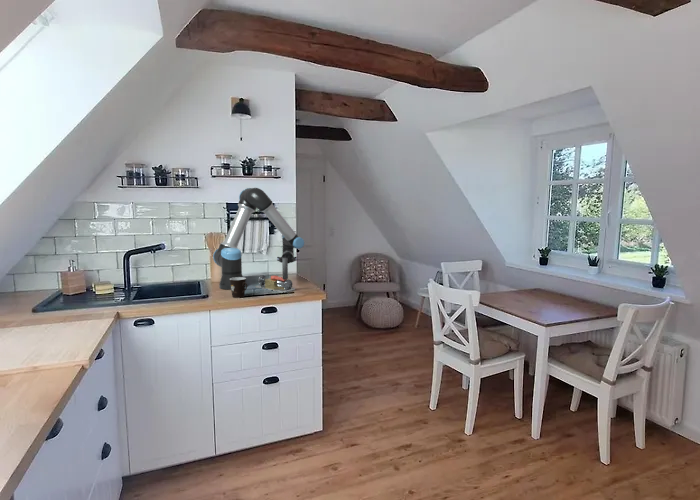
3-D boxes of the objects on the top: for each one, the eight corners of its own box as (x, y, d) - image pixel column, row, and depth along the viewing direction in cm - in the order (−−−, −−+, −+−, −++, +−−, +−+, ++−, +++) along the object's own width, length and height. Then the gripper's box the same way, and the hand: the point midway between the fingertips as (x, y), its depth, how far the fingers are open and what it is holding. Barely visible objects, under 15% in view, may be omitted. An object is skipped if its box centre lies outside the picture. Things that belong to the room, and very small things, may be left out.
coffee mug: (229, 295, 226) (228, 278, 225) (244, 294, 230) (244, 276, 228) (232, 300, 215) (231, 281, 214) (249, 298, 219) (248, 280, 218)
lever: (269, 278, 244) (268, 256, 242) (275, 277, 247) (274, 255, 245) (283, 281, 234) (283, 258, 232) (289, 280, 237) (289, 258, 235)
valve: (255, 287, 248) (254, 276, 247) (268, 284, 256) (267, 274, 255) (282, 292, 233) (281, 281, 232) (294, 289, 241) (294, 278, 240)
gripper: (297, 262, 274) (296, 268, 251) (277, 262, 273) (275, 268, 250) (297, 251, 274) (296, 256, 250) (277, 251, 272) (275, 256, 249)
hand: (285, 262), depth 250 cm, fingers closed
